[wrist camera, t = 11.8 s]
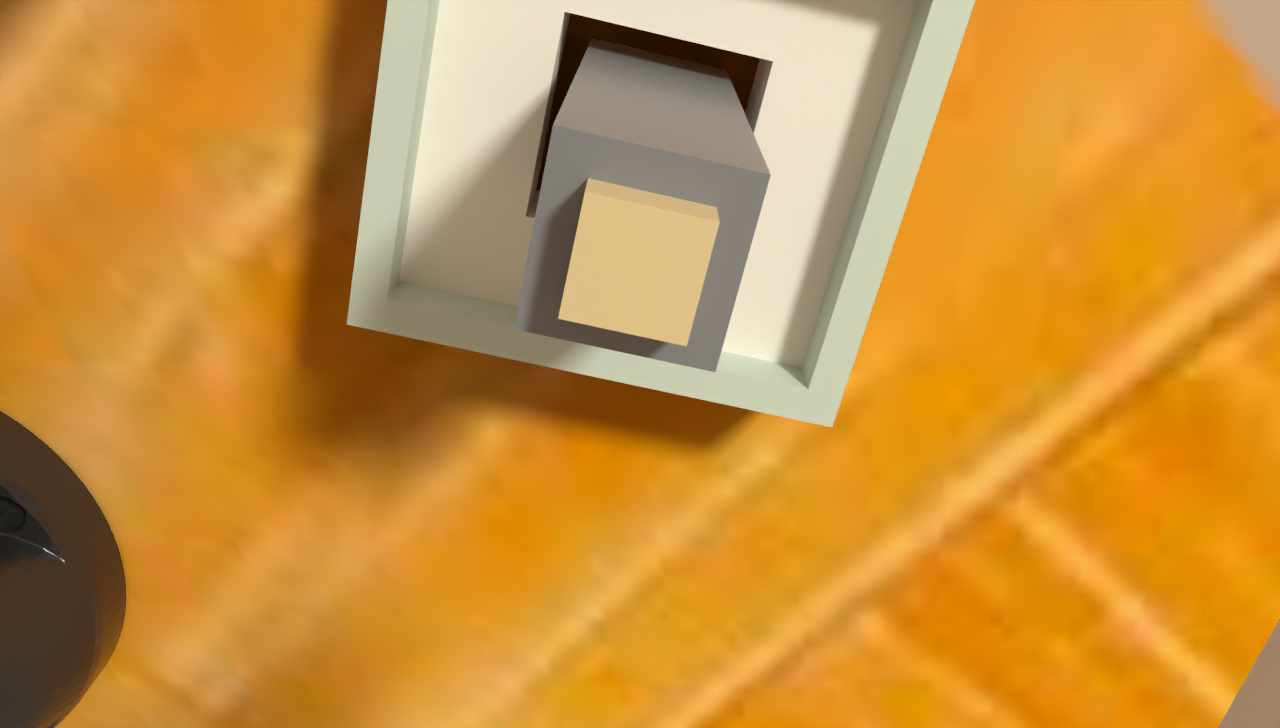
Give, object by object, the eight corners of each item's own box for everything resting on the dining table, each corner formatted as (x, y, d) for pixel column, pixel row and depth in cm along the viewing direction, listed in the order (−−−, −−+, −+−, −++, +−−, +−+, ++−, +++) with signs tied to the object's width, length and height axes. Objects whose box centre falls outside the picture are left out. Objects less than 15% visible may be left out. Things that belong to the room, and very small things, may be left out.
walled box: (383, 272, 34) (346, 324, 30) (446, -177, 29) (411, -190, 25) (810, 364, 35) (832, 427, 31) (943, -53, 30) (990, -45, 26)
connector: (565, 171, 32) (506, 348, 20) (591, 38, 31) (548, 135, 18) (692, 200, 33) (718, 394, 20) (726, 69, 31) (776, 188, 18)
